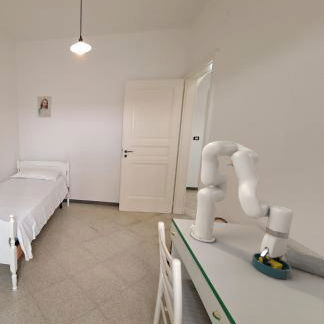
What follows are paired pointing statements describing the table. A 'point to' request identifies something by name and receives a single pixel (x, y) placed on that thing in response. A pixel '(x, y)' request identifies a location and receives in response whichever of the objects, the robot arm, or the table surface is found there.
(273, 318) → the table surface
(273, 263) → the sponge
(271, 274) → the bowl
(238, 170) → the robot arm
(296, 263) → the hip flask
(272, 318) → the table surface
